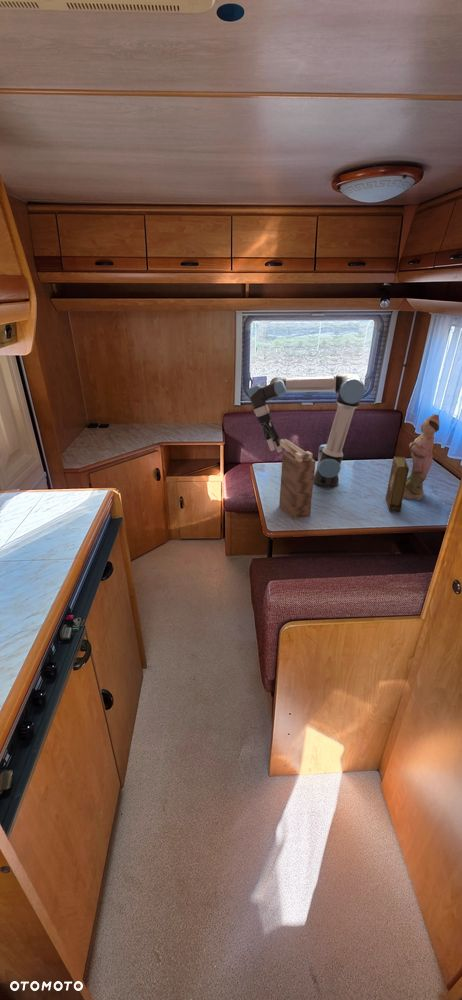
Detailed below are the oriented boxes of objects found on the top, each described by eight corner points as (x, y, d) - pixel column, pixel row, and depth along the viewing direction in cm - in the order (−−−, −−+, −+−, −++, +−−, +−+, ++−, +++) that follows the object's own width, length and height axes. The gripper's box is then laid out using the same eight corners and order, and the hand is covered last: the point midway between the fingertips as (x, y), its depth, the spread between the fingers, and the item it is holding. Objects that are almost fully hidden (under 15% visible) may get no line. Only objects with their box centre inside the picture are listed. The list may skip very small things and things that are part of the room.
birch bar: (288, 444, 225) (289, 438, 224) (311, 460, 205) (312, 453, 204) (276, 446, 223) (277, 439, 222) (298, 462, 203) (299, 455, 201)
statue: (424, 490, 247) (442, 413, 227) (423, 501, 234) (441, 421, 214) (396, 485, 253) (411, 409, 233) (393, 496, 240) (408, 417, 219)
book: (385, 498, 238) (393, 455, 227) (395, 498, 237) (404, 456, 226) (388, 511, 223) (397, 467, 212) (399, 512, 222) (409, 467, 211)
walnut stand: (295, 503, 231) (300, 450, 217) (309, 515, 218) (315, 460, 205) (279, 506, 228) (282, 452, 214) (292, 519, 215) (297, 463, 202)
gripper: (251, 417, 242) (264, 451, 247) (262, 416, 218) (276, 455, 223) (263, 412, 243) (276, 446, 248) (276, 411, 219) (289, 449, 224)
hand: (276, 451), depth 235 cm, fingers open, 13 cm apart
